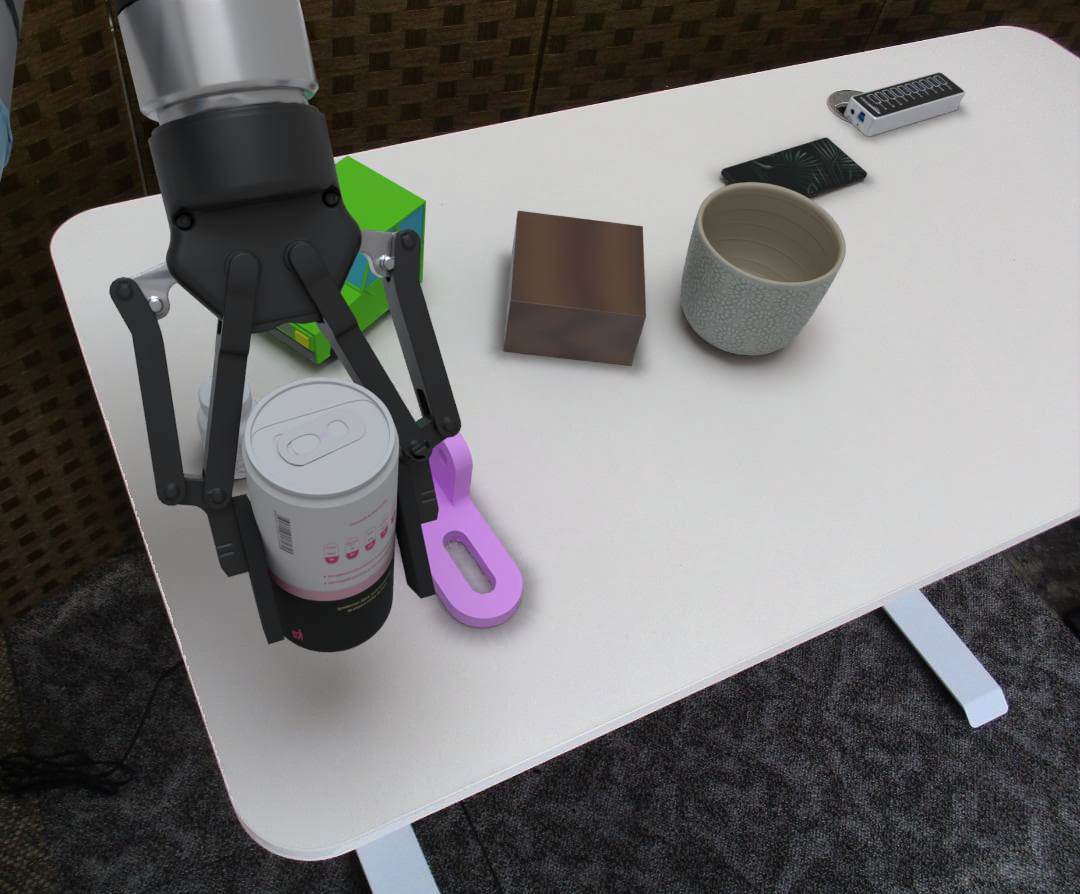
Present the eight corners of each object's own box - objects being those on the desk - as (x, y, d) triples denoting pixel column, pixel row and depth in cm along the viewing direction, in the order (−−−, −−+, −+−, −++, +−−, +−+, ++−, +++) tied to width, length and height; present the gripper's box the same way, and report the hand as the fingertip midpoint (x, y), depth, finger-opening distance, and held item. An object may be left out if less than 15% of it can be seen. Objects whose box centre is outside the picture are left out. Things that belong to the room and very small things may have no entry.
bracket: (377, 501, 73) (376, 445, 68) (442, 471, 76) (447, 415, 70) (467, 641, 68) (475, 592, 62) (535, 604, 70) (548, 554, 64)
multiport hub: (958, 109, 115) (967, 92, 113) (867, 137, 109) (875, 119, 108) (931, 88, 117) (940, 70, 115) (841, 114, 112) (849, 96, 110)
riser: (503, 351, 84) (510, 300, 79) (510, 261, 90) (517, 210, 86) (631, 365, 85) (646, 316, 80) (629, 276, 91) (643, 225, 87)
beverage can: (247, 583, 54) (212, 411, 42) (354, 529, 57) (349, 353, 45) (306, 679, 51) (287, 524, 39) (415, 617, 54) (428, 455, 42)
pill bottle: (277, 467, 74) (267, 402, 68) (219, 489, 72) (204, 424, 66) (254, 425, 76) (242, 358, 70) (197, 446, 74) (181, 379, 68)
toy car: (233, 323, 82) (217, 230, 74) (341, 242, 89) (338, 149, 81) (327, 385, 79) (321, 295, 71) (431, 297, 87) (436, 206, 79)
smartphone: (869, 173, 104) (762, 209, 98) (865, 181, 105) (759, 217, 98) (826, 135, 107) (720, 167, 101) (823, 143, 108) (717, 176, 102)
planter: (826, 328, 90) (874, 237, 82) (751, 399, 84) (793, 308, 76) (719, 256, 94) (753, 162, 86) (639, 318, 88) (667, 223, 80)
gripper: (426, 104, 50) (510, 539, 54) (0, 158, 43) (136, 647, 48) (472, 71, 43) (563, 573, 47) (-28, 129, 36) (135, 704, 41)
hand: (348, 610), depth 48 cm, fingers closed on beverage can, 6 cm apart
